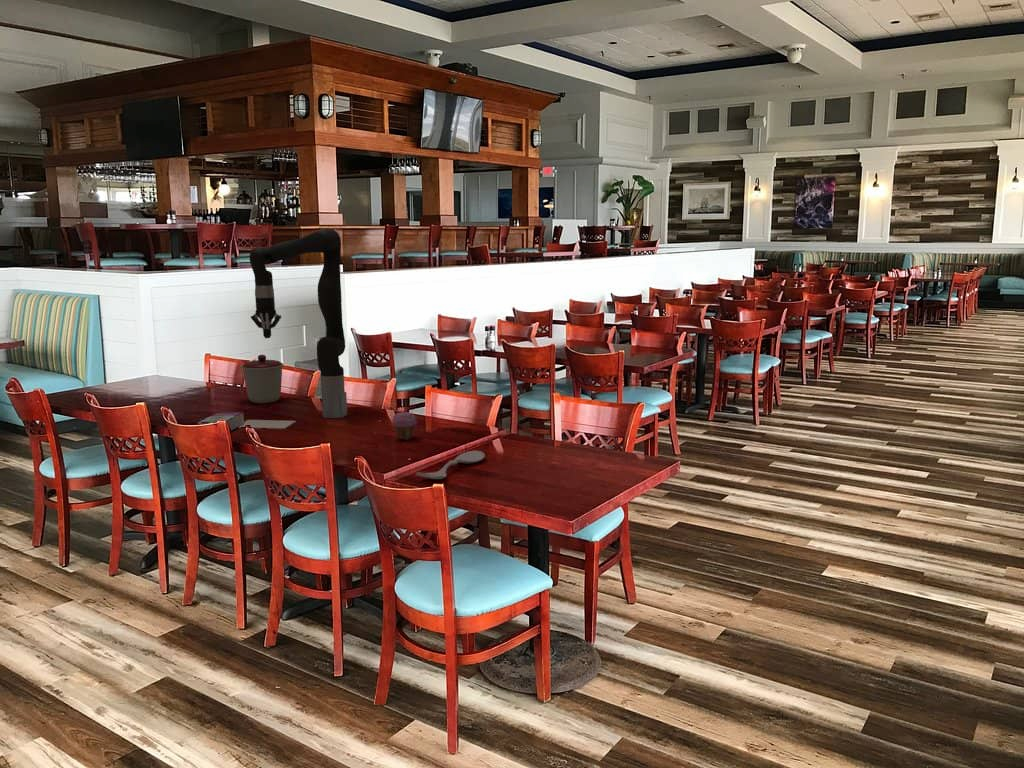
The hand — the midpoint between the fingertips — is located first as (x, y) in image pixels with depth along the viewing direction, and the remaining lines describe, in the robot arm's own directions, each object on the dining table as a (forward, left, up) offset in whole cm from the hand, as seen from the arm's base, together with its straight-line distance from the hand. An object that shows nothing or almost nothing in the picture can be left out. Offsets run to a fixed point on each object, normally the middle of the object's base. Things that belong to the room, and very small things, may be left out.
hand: (267, 338), depth 342 cm
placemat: (-8, +25, -31) cm, 41 cm away
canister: (+11, -18, -31) cm, 38 cm away
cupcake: (-68, +41, -31) cm, 85 cm away
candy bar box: (+6, +25, -28) cm, 39 cm away
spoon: (-93, +78, -32) cm, 126 cm away
